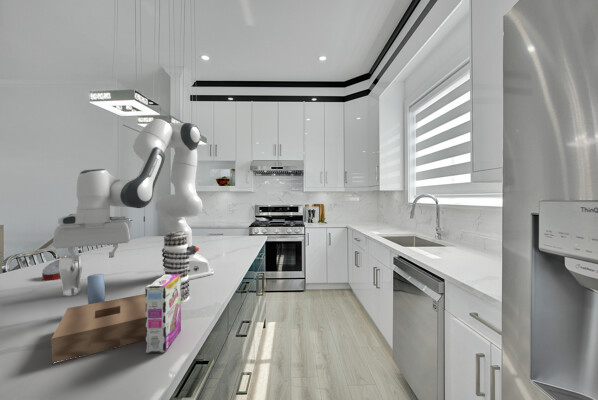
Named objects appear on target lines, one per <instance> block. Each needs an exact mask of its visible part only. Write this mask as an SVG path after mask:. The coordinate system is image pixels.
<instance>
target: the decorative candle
mask: <svg viewBox="0 0 598 400" xmlns="http://www.w3.org/2000/svg"><path fill="white" fill-rule="evenodd" d="M187 236H188V235H186V234H185V233H184V232H182V231H176V232H169V233H167V234H166V233H165V236H163V241H164V242H163V243H164V245H163V248H162V249H161V252H162V253H161V257H163V258H162V267H163V271H164V275H166V274H181V304H183V303H186V302H188V301H189V300H190V288H189V286H190V283H189V282H190V280H189V279H188V274H187V272H188V271H187V268H189V266H188V265H187V264H189V262H188V261H187V259H188V258H189V256H187V255H188V254H189V252H187V249H189V248H190V247H188V246H187Z"/></svg>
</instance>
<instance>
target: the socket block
mask: <svg viewBox="0 0 598 400" xmlns="http://www.w3.org/2000/svg"><path fill="white" fill-rule="evenodd" d="M143 341H146V294H145V293H142V294H138V295H137V294H136V295H132V296H127V297H122V298H115V299H110V300H105V301H104V302H98V303H93V304H88V303H87V304H82V305H78V306H72V307H68V308H66V310H65V312H64V314H63V316H62V318H61V320H60V321H59V324H58V325H57V328H56V329H55V331H54V333H53V335H52V336H51V362H52V363H54V362H57V361H61V360H66V359H70V358H75V357H78V358H80V357H79V356H82V357H85V356H84V355H86V356H89V355H88V354H90V355H93V354H92V353H94V354H97V353H101V352H104V350H105V351H108V350H107V349H109V350H111V348H113V349H115V347H116V348H119V346H120V347H123V346H122V345H124V346H127V345H126V344H128V345H131V343H132V344H135V343H138V342H143ZM100 351H101V352H100ZM96 352H97V353H96ZM75 359H76V358H75Z"/></svg>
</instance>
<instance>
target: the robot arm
mask: <svg viewBox="0 0 598 400" xmlns="http://www.w3.org/2000/svg"><path fill="white" fill-rule="evenodd" d="M200 141H201V131H200V129H199V128H198V126H197V125H196V124H194V123H190V122H173V123H168V122H167V121H166V120H164V119H161V118H155V119H152V120H151V121H149V122H148V123H147V124H146V125H145V126H144V127H143V128H142V130H140V132H139V133H138V134H137V136H136V138H135V139H134V141H133V145H132V148H133V151H134V153H135V155H136V157H138V158H139V159H140V160H142V161H144V162H143V165H142V167H141V169H140V171H139V173H138V175H137V176H136V177H135V178H134V177H133V178H132V179H127V180H126V179H120V178H117V177H115V176H114V175H112V174H110V173H109V171H108V170H107V169H105V168H96V169H85V170H82V171H80V172H79V174H78V176H77V179H76V180H77V181H76V198H77V200H78V201H77V207H76V213H70V214H68V215H65V216H62V217H59V218H58V221H57V222H58V226H56V228H55V229H54V233H53V238H52V239H53V240H52V246H53V247H54V248H55V249H67V252H68V253H69V255H72V256H73V261H79V255H80V254H79V255H76V252H75V250H76V248H81V247H93V246H95V247H96V246H106V245H112V247H113V249H112V251H109V252H108V259H109V258H115V252H116V251H117V249H118V248H119V244H128V243H130V241H131V234H130V230H129V229H130V228H131V227H132V221H131V219H130V218H129V217H126V216H111V207H117V208H118V207H119V208H134V209H143V208H145V207H147V206H148V205H149V204H150V203H151V202H152V200H153V196H154V192H155V191H154V190H155V186H156V183H157V180H158V179H159V176H160V174H161V172H162V168H163V166H164V164H165V163H164V162H165V159H166V155H165V151H166V150H167V149H168V148H169V149H170V148H171V149H172V148H173V149H174V156H173V158H172V164H171V171H170V177H169V181H170V182H171V184H173V187H174V193H173V194H170V193H168V194H165V195H162V196H160V197H158V199H157V200H156V202H155V211H156V212H157V213H158V214H159V215H160V217H161V219H162V222H163V225H164V228H165V235H166V234H167V233H169V232H176V231H182V232H184V233H185V234H186V235H188V236H187V246H188V247H190V248H189V249H187V252H189V254H188V255H187V256H189V258H188V259H187V261H188V262H189V264H187V265H188V266H189V268H187V271H188V272H187V274H188V279H189V281H191V280H194V279H199V278H202V277H204V278H205V277H206V276H207V277H208V276H213V275H214V274H215V270H214V268H213V267H211V266H210V263H209V261H208V259H207V258H206V257H204V256H203V255H201V254H200V253H198V252H199V251H200V248H199V247H198V246H196V245H193V230H192V228H191V227H190V225H188V222H187V221H186V218H193V217H196V216H199V215H200V214H201V213H202V210H203V207H204V206H203V201H202V199H201V198H200V197H199V195H198V193H197V190H196V179H197V178H196V177H197V168H198V150H197V149H198V146H199V144H200Z"/></svg>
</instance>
